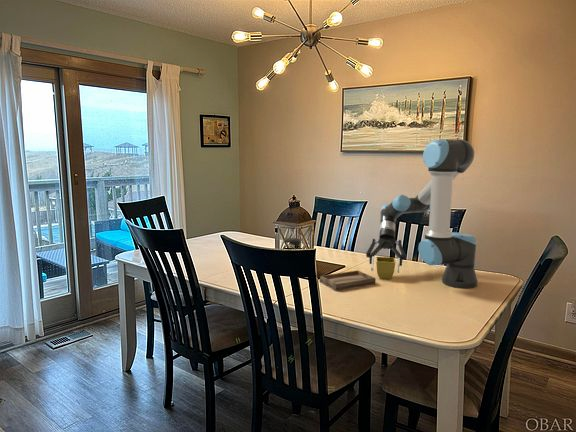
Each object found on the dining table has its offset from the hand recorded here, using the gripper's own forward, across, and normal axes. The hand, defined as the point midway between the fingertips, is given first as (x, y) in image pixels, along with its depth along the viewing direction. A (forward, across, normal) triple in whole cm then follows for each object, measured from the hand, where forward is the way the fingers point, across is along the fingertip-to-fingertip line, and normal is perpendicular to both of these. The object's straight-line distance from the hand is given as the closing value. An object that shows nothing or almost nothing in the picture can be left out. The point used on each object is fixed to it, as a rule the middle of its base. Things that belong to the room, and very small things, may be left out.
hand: (385, 270), depth 207 cm
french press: (+2, +45, -4) cm, 45 cm away
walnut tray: (+10, +16, +4) cm, 20 cm away
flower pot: (+1, 0, -5) cm, 5 cm away
